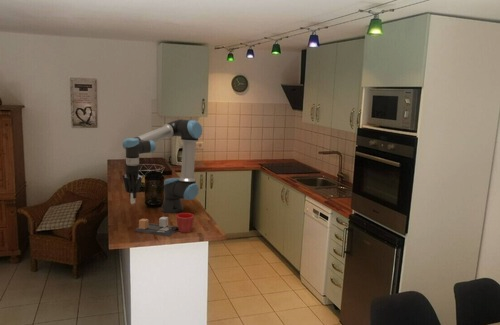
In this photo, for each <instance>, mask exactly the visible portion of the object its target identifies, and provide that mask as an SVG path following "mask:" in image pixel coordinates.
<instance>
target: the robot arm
mask: <svg viewBox="0 0 500 325" xmlns="http://www.w3.org/2000/svg"><path fill="white" fill-rule="evenodd" d="M202 135H203V127H202V124H200V122H199V121H198V120H194V119H190V120H189V119H177V120H173V121H170V122H167V123H165V124H164V125H163V126H160V127H159V128H156V129H153V130H151V131H148V132H146V133H142V134H140V135H138V136H135V137H130V138H125V139H124V140H123V141H122V148H123V149H124V150H125V164H126V165H125V171H126V172H125V174H123V175H122V179H123V182H124V187H125V191H126V192H128V193H129V197H128V198H130V204H131V205H134V204H136V198H137V193H139V192H140V189H141V185H142V181H143V178H144V176H141V174H140V155H141V154H151V153H153V152H155V151H156V148H157V147H156V146H157V145H156V142H159V141H160V140H164V139H166V138H172V137H180V140H181V142H182V152H181V172H180V173H181V174H180V177H170V178H166V179H164V181H163V197H164V198H163V202H162V205H161V211H162V212H163V213H167V214H176V213H177V214H178V213H182V212H183V211H184V205H183V202H182V199H183V200H186V201H187V200H189V201H192V200H195V199H196V197H197V196H198V195H199V190H200V188H199V186H198V184H197V183H196V182H197V181H196V179H195V161H196V157H195V156H196V145H197V143H198V142H199V138H201V137H202Z"/></svg>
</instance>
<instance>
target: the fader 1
mask: <svg viewBox="0 0 500 325" xmlns="http://www.w3.org/2000/svg"><path fill="white" fill-rule="evenodd" d="M148 223H149V219H148V218H141V219H139V220H138V227H139V229H146V228H148Z"/></svg>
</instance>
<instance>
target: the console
mask: <svg viewBox="0 0 500 325" xmlns="http://www.w3.org/2000/svg"><path fill="white" fill-rule="evenodd" d="M135 231H136V232H137V233H145V234H150V235H151V234H152V235H158V236H165V237H170V236H171V235H173V234H175V233H176V232H179V230H178V226H173V225H168V226H166V227H160V226H159V224H157V223H152V222H151V223H149V222H148V228H146V229H139V226H138V227H136V228H135Z"/></svg>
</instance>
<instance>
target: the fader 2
mask: <svg viewBox="0 0 500 325" xmlns="http://www.w3.org/2000/svg"><path fill="white" fill-rule="evenodd" d="M158 223H159V226H160V227H166V226H169V216H162V217H160V218H158Z"/></svg>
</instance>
